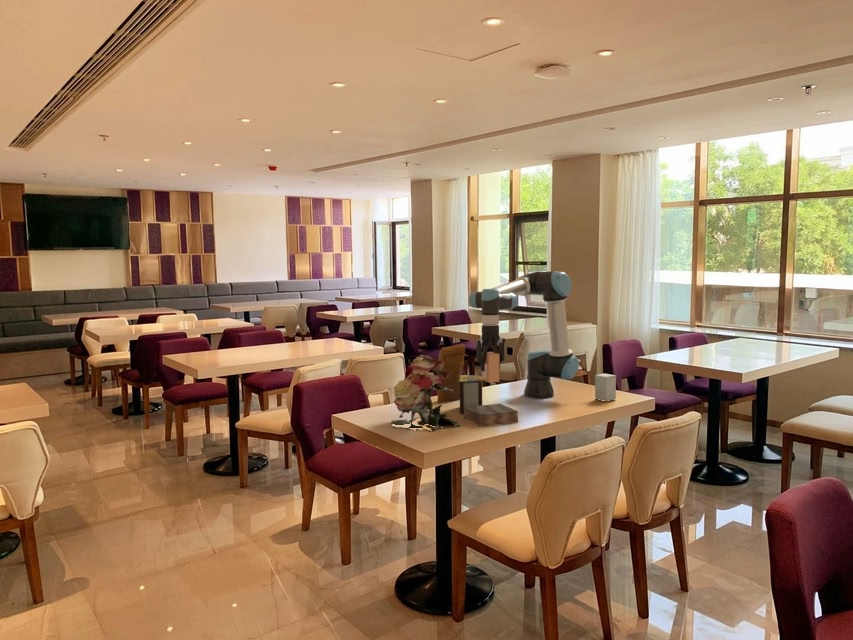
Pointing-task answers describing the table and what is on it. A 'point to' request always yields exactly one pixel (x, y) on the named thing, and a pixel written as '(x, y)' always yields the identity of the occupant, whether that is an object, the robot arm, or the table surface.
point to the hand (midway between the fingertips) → (490, 377)
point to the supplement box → (605, 387)
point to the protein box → (470, 391)
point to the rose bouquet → (422, 392)
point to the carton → (492, 367)
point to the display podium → (490, 414)
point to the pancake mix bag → (454, 364)
